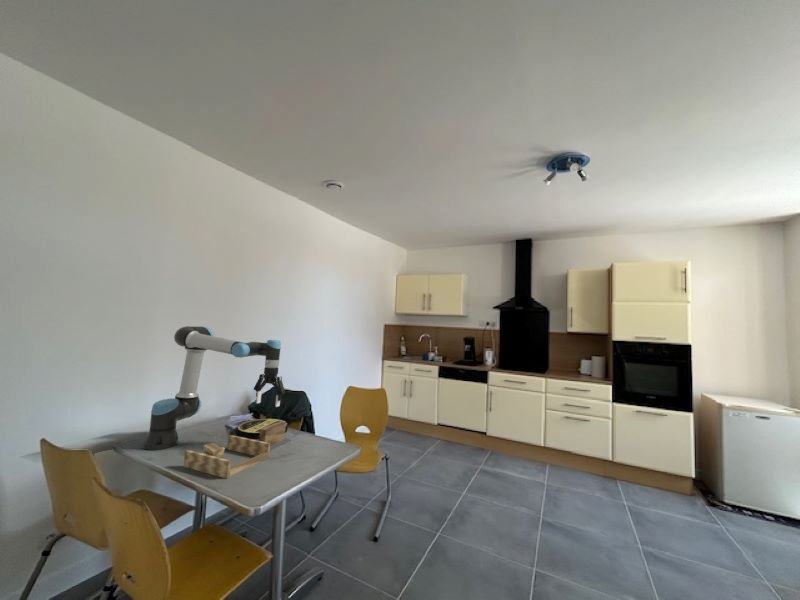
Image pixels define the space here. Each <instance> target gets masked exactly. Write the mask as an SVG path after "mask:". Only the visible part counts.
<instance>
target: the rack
mask: <svg viewBox="0 0 800 600" xmlns="http://www.w3.org/2000/svg"><path fill="white" fill-rule="evenodd" d="M227 450H229V451H233V452H237V453H238V452H239V453H243V454H247V455H250V456H252V457H251V458H250V459H247V460H244V461H243V462H241V463H238V464H236V465H234V466H232V460H230V459H226V458H222V457H220V456H219V457H215V456H211V455H207V454H206V453H204V452H203V453H202V452H198V451H194V450H190V449H187V450H185V451H184V459H183V468H188V469H191V470H194V471H198V472H202V473H205V474H209V475H213V476H217V477H220V478H224V479H229V478H230V477H233V476H235V475H236V474H238V473H241V472H243V471H245V470H247V469H249V468H251V467H253V466H256V465H257V464H259V463H261V462H263V461H265V460H267V459H269V458H270V452H271V450H270V443H267V442H262V441H259V440H253V439H248V438H243V437H238V436H237V435H234V434H233V435H232V434H229V435H228V439H227ZM231 466H232V467H231Z"/></svg>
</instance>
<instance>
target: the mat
mask: <svg viewBox="0 0 800 600" xmlns="http://www.w3.org/2000/svg"><path fill="white" fill-rule="evenodd" d="M291 441H292V439H289V438H286V437H285V440H283V441H281V442H279V443H276V444H274V445H272V446H270V451H272V450H274V449H277V448H278V447H280V446H283V445H285V444H286V443H289V442H291Z"/></svg>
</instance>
